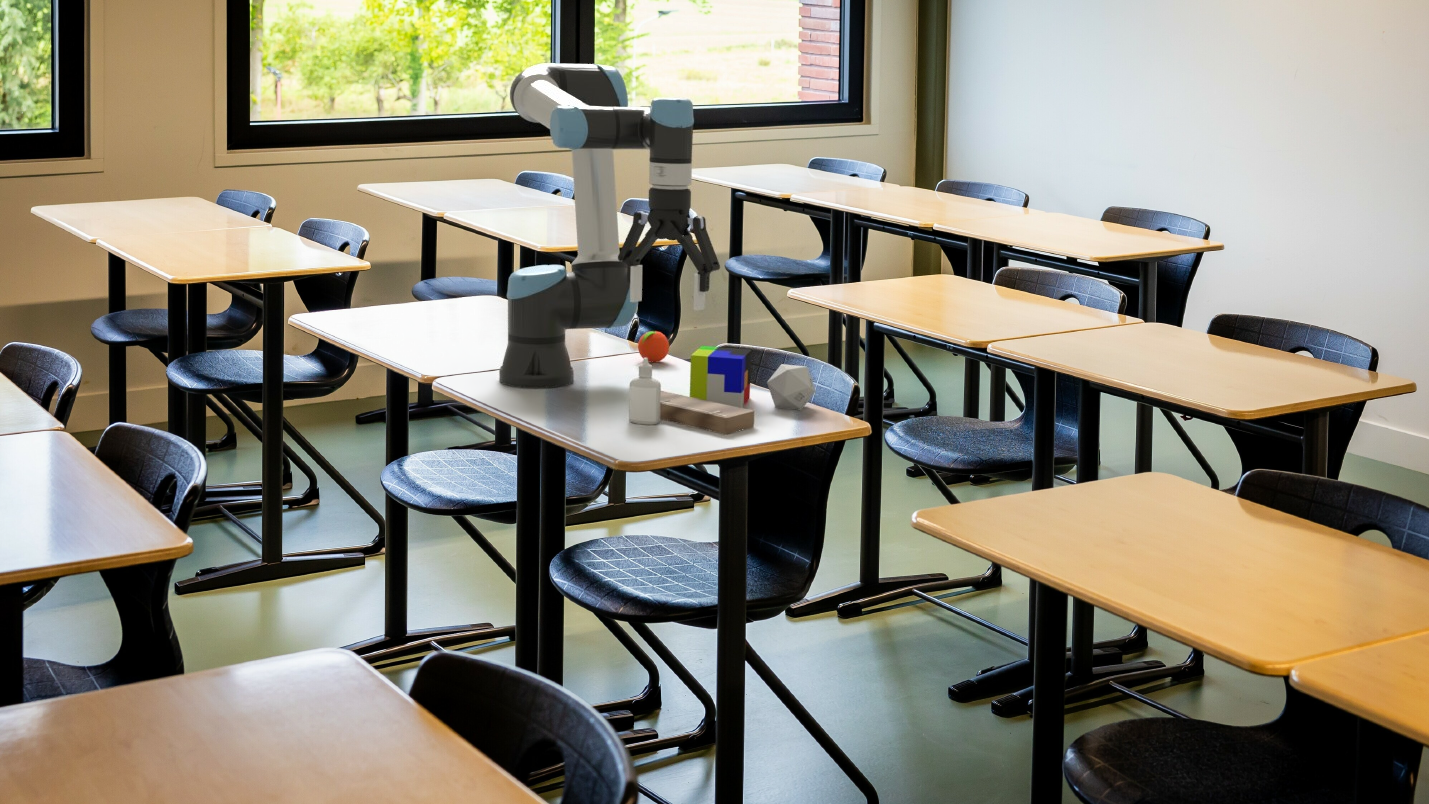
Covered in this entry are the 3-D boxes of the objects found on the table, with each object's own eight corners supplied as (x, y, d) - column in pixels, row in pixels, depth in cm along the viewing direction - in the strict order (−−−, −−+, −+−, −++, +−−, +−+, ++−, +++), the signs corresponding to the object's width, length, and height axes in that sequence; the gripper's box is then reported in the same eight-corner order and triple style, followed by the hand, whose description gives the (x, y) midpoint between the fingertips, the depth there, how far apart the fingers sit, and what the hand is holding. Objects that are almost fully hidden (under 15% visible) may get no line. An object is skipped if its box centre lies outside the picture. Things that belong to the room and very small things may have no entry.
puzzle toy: (740, 410, 270) (742, 358, 268) (689, 406, 272) (690, 355, 269) (749, 399, 279) (751, 349, 277) (700, 395, 281) (701, 346, 279)
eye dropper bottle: (646, 427, 254) (647, 362, 251) (625, 421, 258) (626, 357, 255) (663, 423, 257) (665, 359, 254) (642, 417, 261) (644, 354, 258)
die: (786, 417, 267) (819, 376, 267) (752, 389, 270) (784, 348, 270) (797, 424, 275) (830, 384, 275) (764, 396, 278) (795, 357, 278)
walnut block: (631, 412, 265) (631, 396, 264) (659, 405, 271) (659, 389, 270) (726, 434, 251) (726, 417, 250) (753, 426, 257) (754, 410, 256)
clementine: (655, 367, 306) (655, 335, 305) (628, 363, 310) (629, 331, 308) (674, 361, 313) (675, 330, 311) (648, 357, 316) (649, 326, 315)
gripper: (600, 183, 253) (598, 300, 258) (719, 193, 240) (715, 315, 245) (623, 181, 259) (621, 295, 264) (741, 190, 247) (737, 310, 252)
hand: (667, 305), depth 255 cm, fingers open, 13 cm apart
